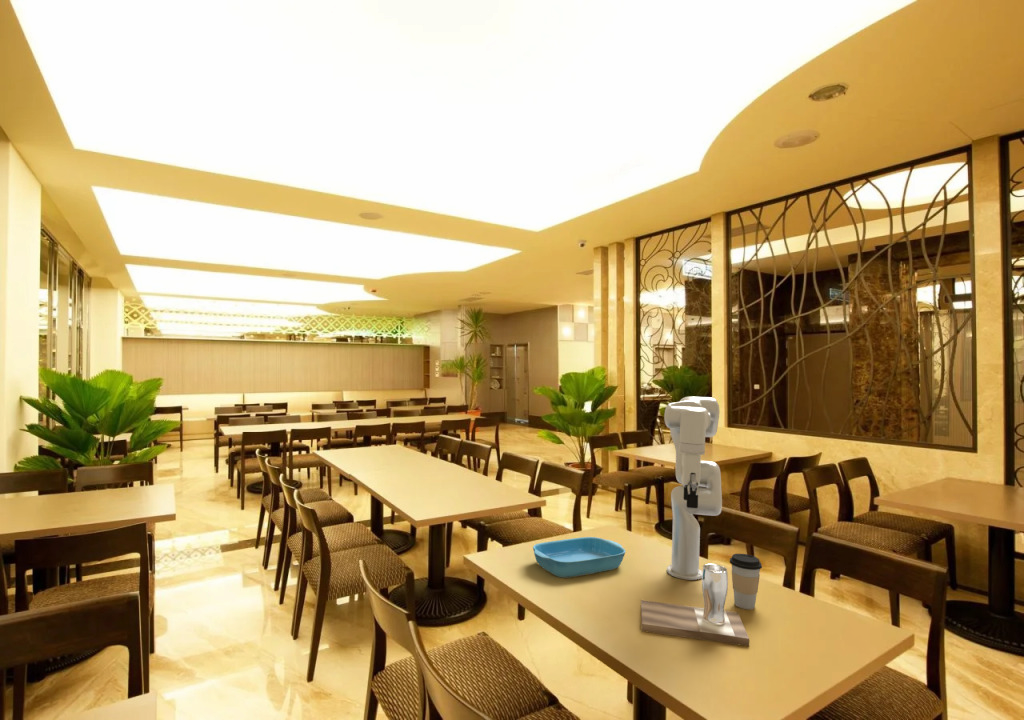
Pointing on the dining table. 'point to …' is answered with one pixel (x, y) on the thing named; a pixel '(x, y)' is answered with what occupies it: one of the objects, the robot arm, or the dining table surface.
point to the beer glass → (714, 593)
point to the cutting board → (691, 623)
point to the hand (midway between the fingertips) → (690, 503)
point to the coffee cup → (745, 579)
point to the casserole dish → (578, 556)
